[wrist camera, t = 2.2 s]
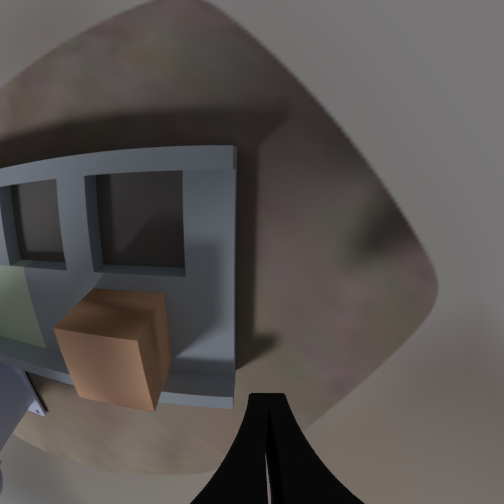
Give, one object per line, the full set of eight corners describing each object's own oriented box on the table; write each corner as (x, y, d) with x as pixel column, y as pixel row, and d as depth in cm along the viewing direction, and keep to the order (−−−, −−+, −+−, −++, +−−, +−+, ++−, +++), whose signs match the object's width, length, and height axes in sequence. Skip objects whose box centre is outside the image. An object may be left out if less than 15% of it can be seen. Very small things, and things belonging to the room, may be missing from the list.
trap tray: (-1, 333, 19) (-22, 352, 16) (-33, 178, 14) (-63, 186, 11) (235, 371, 19) (232, 408, 16) (237, 147, 15) (233, 145, 11)
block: (107, 350, 17) (79, 396, 13) (93, 287, 15) (53, 327, 11) (172, 358, 17) (154, 411, 13) (164, 293, 15) (137, 340, 11)
